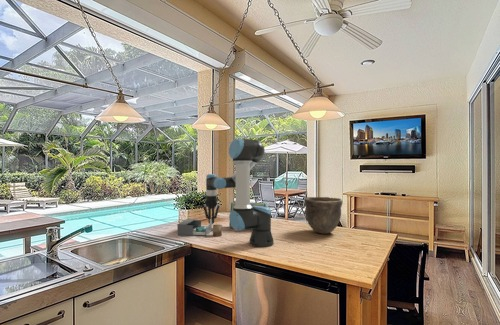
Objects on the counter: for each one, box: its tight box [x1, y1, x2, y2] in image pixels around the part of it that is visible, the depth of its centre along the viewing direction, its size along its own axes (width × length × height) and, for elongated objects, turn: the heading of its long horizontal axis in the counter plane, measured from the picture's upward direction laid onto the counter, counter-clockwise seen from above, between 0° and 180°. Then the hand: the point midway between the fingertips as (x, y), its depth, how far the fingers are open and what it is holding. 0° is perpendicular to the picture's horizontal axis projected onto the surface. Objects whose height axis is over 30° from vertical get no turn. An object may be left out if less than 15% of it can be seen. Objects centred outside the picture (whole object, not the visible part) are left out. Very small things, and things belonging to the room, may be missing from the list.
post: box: [212, 223, 223, 238], centre depth 190 cm, size 6×6×7 cm
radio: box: [228, 198, 269, 231], centre depth 210 cm, size 30×8×25 cm, turn 73°
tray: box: [193, 224, 213, 236], centre depth 197 cm, size 17×12×5 cm
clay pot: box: [304, 196, 343, 235], centre depth 197 cm, size 26×26×25 cm
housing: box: [176, 218, 202, 237], centre depth 198 cm, size 19×13×8 cm
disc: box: [196, 225, 208, 232], centre depth 197 cm, size 8×8×2 cm
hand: (211, 227), depth 199 cm, fingers closed
